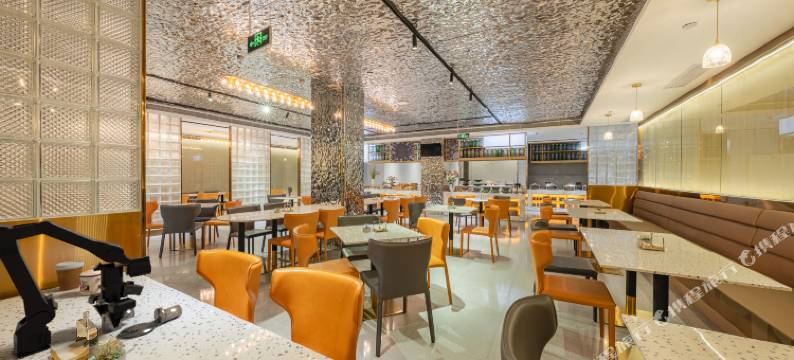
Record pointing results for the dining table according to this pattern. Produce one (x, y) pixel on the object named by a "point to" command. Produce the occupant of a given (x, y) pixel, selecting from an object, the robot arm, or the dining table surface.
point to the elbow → (128, 314)
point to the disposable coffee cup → (69, 274)
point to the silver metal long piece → (152, 322)
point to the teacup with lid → (90, 282)
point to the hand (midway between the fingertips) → (112, 325)
